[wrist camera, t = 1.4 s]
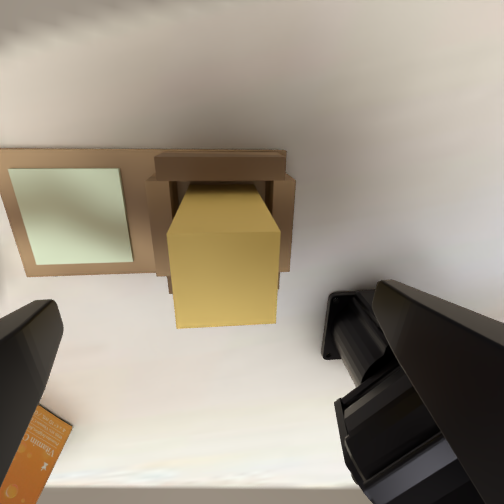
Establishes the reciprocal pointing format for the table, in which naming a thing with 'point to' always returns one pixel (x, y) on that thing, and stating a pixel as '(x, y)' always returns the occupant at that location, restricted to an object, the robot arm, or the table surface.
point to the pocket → (217, 169)
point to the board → (85, 208)
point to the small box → (34, 458)
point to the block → (223, 257)
